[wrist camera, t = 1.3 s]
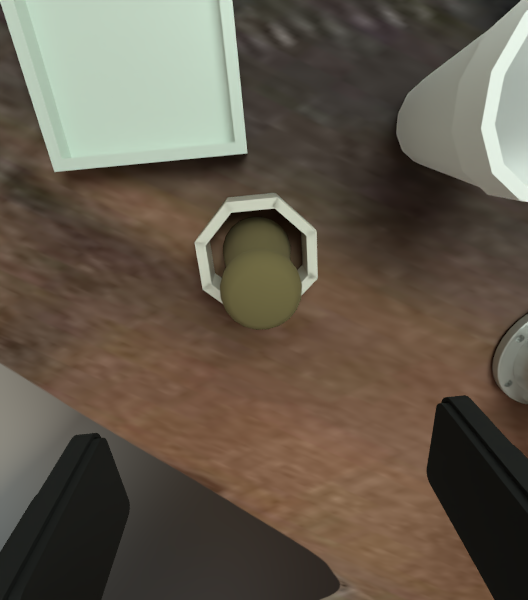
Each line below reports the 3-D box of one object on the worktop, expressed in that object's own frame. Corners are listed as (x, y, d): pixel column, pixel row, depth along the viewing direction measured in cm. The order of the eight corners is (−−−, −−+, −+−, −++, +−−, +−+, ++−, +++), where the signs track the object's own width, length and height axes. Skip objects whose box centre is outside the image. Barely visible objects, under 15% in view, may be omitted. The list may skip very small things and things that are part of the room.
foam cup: (415, 207, 29) (532, 245, 17) (353, 116, 26) (442, 85, 14) (516, 125, 27) (732, 102, 15) (461, 15, 24) (677, -124, 12)
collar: (312, 295, 32) (318, 308, 29) (211, 305, 32) (207, 319, 29) (308, 189, 28) (315, 193, 25) (193, 200, 28) (188, 205, 25)
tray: (247, 153, 27) (247, 153, 24) (71, 170, 26) (54, 171, 24) (213, -186, 19) (209, -231, 17) (-29, -164, 19) (-66, -207, 17)
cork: (302, 235, 29) (332, 278, 19) (271, 292, 32) (283, 358, 21) (240, 204, 28) (237, 232, 18) (212, 266, 30) (194, 322, 20)
